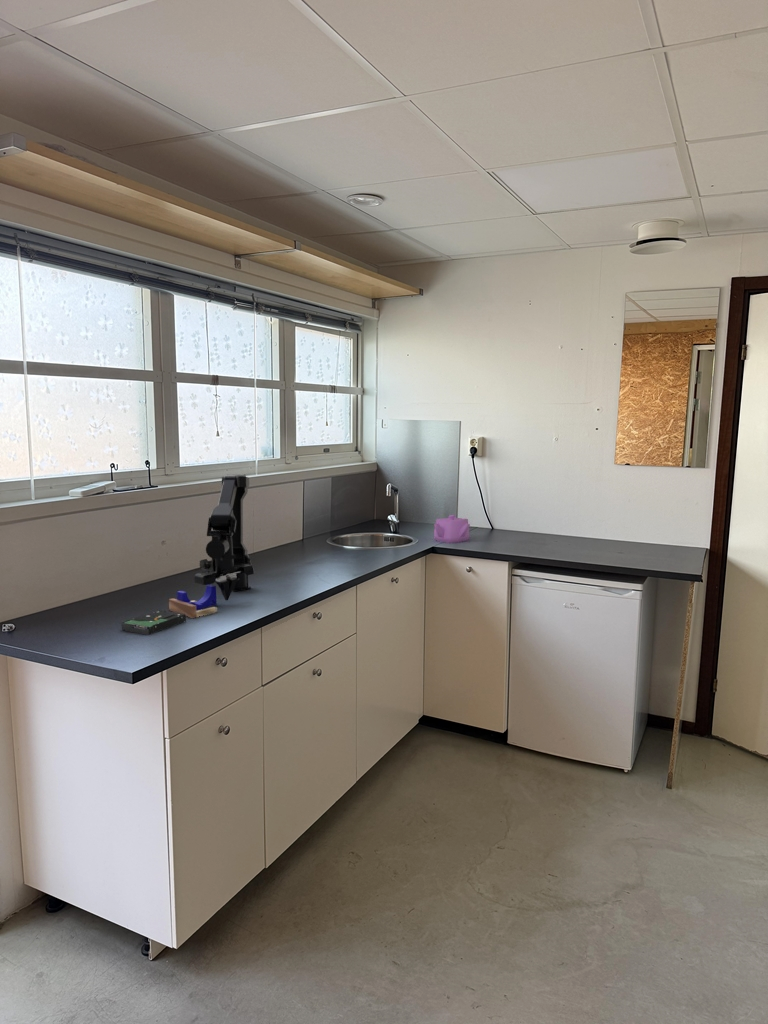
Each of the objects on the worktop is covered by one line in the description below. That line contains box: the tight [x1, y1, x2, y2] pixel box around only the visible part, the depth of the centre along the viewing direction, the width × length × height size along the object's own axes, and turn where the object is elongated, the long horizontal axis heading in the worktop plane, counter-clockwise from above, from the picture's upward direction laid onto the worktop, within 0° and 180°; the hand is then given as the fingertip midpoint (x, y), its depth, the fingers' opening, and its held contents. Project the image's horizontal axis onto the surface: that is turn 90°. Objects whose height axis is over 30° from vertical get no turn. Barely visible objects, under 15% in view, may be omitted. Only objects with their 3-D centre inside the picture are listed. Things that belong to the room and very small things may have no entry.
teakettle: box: [433, 514, 471, 544], centre depth 334 cm, size 17×17×12 cm
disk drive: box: [120, 609, 187, 635], centre depth 198 cm, size 10×3×15 cm
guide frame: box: [168, 598, 218, 619], centre depth 212 cm, size 8×13×4 cm, turn 47°
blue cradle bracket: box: [176, 584, 218, 611], centre depth 215 cm, size 12×4×6 cm, turn 138°
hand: (226, 600), depth 221 cm, fingers closed
